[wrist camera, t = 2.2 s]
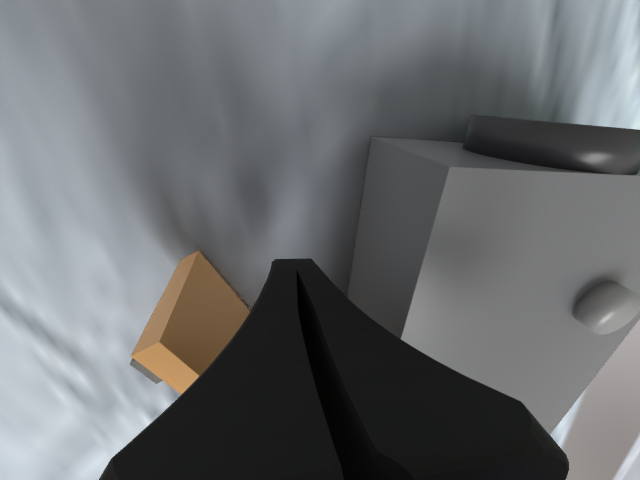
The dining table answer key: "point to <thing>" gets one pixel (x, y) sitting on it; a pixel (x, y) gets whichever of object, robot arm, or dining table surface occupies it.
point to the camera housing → (505, 252)
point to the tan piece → (189, 325)
